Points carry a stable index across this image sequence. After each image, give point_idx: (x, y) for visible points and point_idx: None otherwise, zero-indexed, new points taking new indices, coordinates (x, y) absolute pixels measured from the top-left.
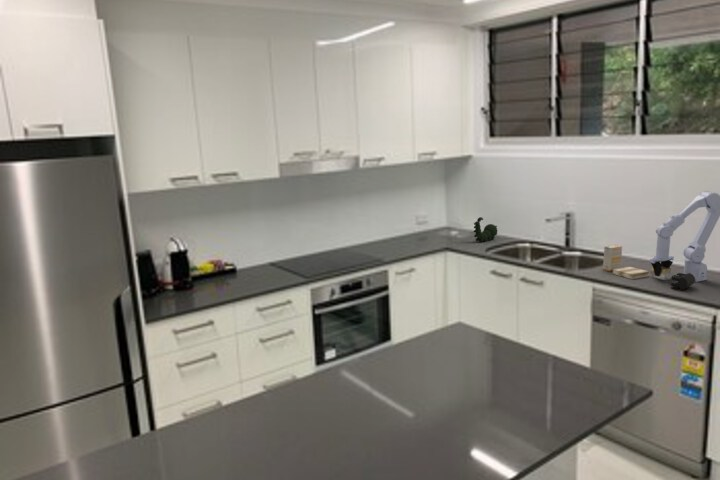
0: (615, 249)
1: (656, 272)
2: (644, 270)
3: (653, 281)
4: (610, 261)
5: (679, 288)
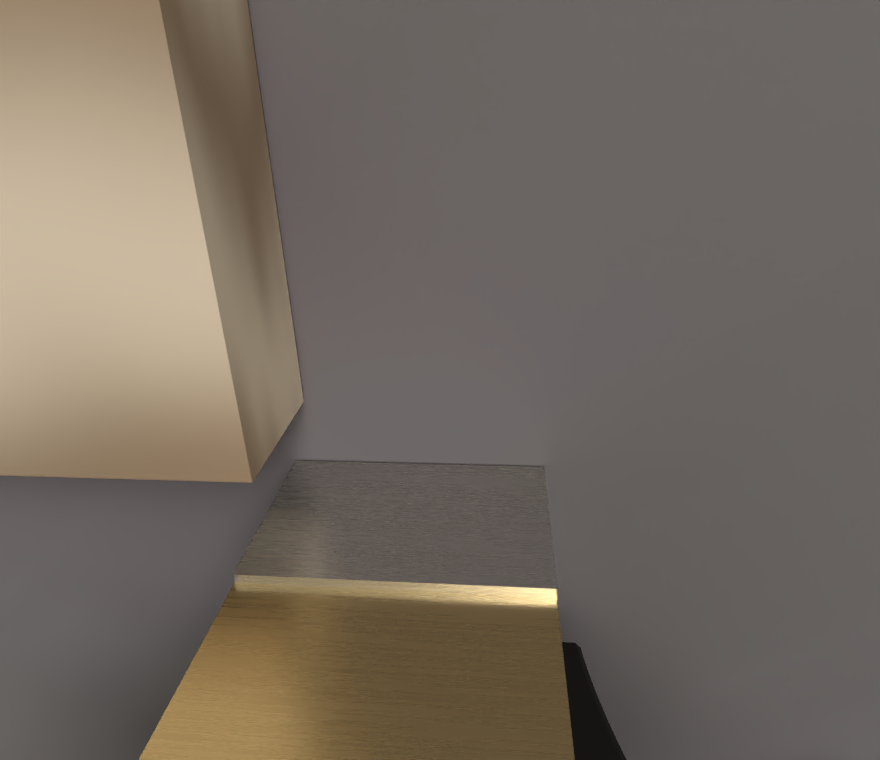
0: None
1: None
2: (189, 308)
3: (83, 679)
4: None
5: None
